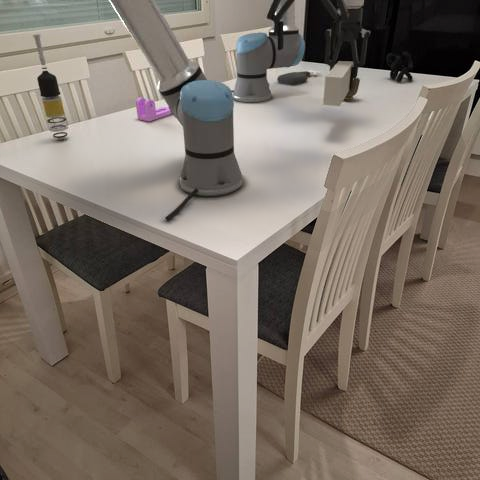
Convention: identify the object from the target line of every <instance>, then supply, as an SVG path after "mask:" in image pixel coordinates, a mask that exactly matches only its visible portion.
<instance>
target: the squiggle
mask: <svg viewBox="0 0 480 480" xmlns="http://www.w3.org/2000/svg"><path fill="white" fill-rule="evenodd" d="M401 57H402V59H401ZM391 59H392V60H391ZM393 60H394V61H393ZM385 61H386V64H387V67H390V68H391V70H390V72H389V78H390V79H391V80H395V79H396V81H397V82H399V83H400V82H402V81H403V79H404V76H406V78H407V80H408V81H412V80H413V79H414V77H413V75H412V74H411V73H410V72H409V71H410V70H412V69H413V68H414V64H413V61H412V57H411V54H410V53H409V52H408V51H403V53H402V54H401V55H396V54H394V53H392V52H390V53H387V55H386V57H385ZM406 62H407V65H408V66H407V67H405V66H404V65H405V64H406ZM400 70H401V71H400Z"/></svg>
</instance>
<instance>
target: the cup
mask: <svg viewBox="0 0 480 480" xmlns="http://www.w3.org/2000/svg"><path fill="white" fill-rule="evenodd" d="M360 82H361V78H359V77H356V79H355V78H353V86H352V89H351V90H349V91H348V93H347V95H346V96H345V98H344V100H343V101H346V102H347V101H348V102H350V101H353V99H354V96H356V95H357V93H358V90H359V87H360Z"/></svg>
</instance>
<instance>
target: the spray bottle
mask: <svg viewBox="0 0 480 480" xmlns="http://www.w3.org/2000/svg"><path fill="white" fill-rule="evenodd" d="M318 75H322V71H318V70H311V69H310V70H308V69H306V71H291V72H286V73H283V74H280V75H278V76H277V78H276V81H277V83H278V84H282V85H289V86H296V85H299V84H303V83H306V82H307V81H308V77H310V76H318Z"/></svg>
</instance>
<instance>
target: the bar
mask: <svg viewBox="0 0 480 480" xmlns="http://www.w3.org/2000/svg"><path fill="white" fill-rule="evenodd" d="M352 67H354V64H353V61H346V60H345V61H344V60H343V61H342V60H339V61H337V62H336V63H335V66H334V67H333V68H332V70H331V71H330V70H329V71H328V73H327V74H326V75H325V76H324V89H323V102H322V106H331V107H341V104H342V103H343V102H344V101H345V100H344V98H345V96H346V95H347V93H348V91H349V84H350V75H351V68H352Z"/></svg>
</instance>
